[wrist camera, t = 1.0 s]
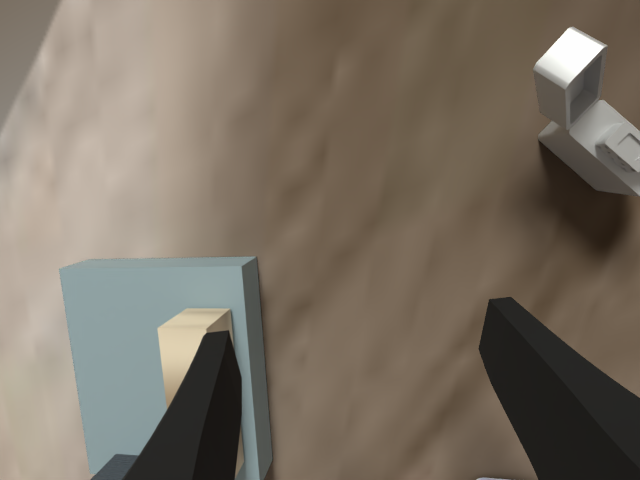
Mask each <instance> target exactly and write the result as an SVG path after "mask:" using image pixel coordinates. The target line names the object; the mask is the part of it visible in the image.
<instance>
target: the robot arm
mask: <svg viewBox="0 0 640 480" xmlns="http://www.w3.org/2000/svg"><path fill="white" fill-rule="evenodd" d="M479 351H480V354H481V357H482V360H483V363H484V366H485V369H486V371H487V374H488V377H489V379H490V382H491V384H492V386H493V388H494V390H495V392H496V394H497V396H498V398H499V400H500V402H501V404H502V406H503V408H504V410H505V412H506V414H507V416H508V418H509V420H510V422H511V424H512V426H513V428H514V430H515V432H516V434H517V436H518V438H519V440H520V442H521V444H522V446H523V448H524V450H525V452H526V453H527V455H528V457H529V459H530V462H531V464H532V466H533V468H534V470H535V472H536V475H537V477H538V480H640V398H639V397H638V396H636V395H635V394H633V393H632V392H630V391H629V390H627V389H626V388H624V387H623V386H621V385H620V384H619V383H617V382H616V381H614V380H613V379H612V378H610V377H609V376H608V375H606V374H605V373H603V372H602V371H601V370H599V369H598V368H597V367H595V366H594V365H593V364H591V363H590V362H589V361H587V360H586V359H585V358H584V357H582V356H581V355H580V354H578V353H577V352H576V351H575V350H573V349H572V348H571V347H570V346H568V345H567V344H566V343H565V342H563V341H562V340H561V339H560V338H559V337H557V336H556V335H555V334H554V333H553V332H551V331H550V330H549V329H548V328H547V327H546V326H544V325H543V324H542V323H541V322H540V321H538V320H537V319H536V318H535V317H534V316H533V315H531V314H530V313H529V312H528V311H527V310H526V309H524V308H523V307H522V306H521V305H520V304H519V303H517V302H516V301H515V300H514V299H513V298H511V297H506V298H498V299H489V303H488V307H487V312H486V317H485V321H484V326H483V331H482V335H481V340H480V345H479ZM241 417H242V377H241V373H240V369H239V366H238V362H237V358H236V355H235V351H234V347H233V343H232V340H231V336H230V332H229V330H226V331H217V332H209V333H206V334H205V335H204V336H203V338H202V340H201V343H200V345H199V347H198V350H197V352H196V354H195V356H194V358H193V361H192V363H191V365H190V367H189V369H188V371H187V373H186V375H185V377H184V379H183V381H182V383H181V385H180V387H179V389H178V390H177V392H176V394H175V396H174V398H173V400H172V402H171V404H170V405H169V407H168V409H167V411H166V412H165V414H164V416H163V417H162V419H161V421H160V422H159V424H158V426H157V427H156V429H155V431H154V432H153V434H152V436H151V437H150V439H149V441H148V442H147V444H146V445H145V447H144V448H143V450H142V451H141V453H140V454H139V456H138V457H137V459H136V460H135V462H134V463H133V465H132V466H131V468H130V469H129V470H128V472H127V473H126V475H125V476H124V478H123V479H122V480H235V472H236V463H237V454H238V445H239V436H240V427H241ZM476 480H509V479H495V478H478V479H476Z"/></svg>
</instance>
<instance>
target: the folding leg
mask: <svg viewBox="0 0 640 480" xmlns="http://www.w3.org/2000/svg"><path fill="white" fill-rule="evenodd" d="M157 329H158V337H159V346H160V354H161V363H162V371H163V380H164V388H165V397H166V405H167V409H168V407H169V405H170V404H171V402H172V400H173V398H174V396H175V394H176V392H177V390H178V389H179V387H180V385H181V383H182V381H183V379H184V377H185V375H186V373H187V371H188V369H189V367H190V365H191V363H192V361H193V358H194V356H195V354H196V352H197V350H198V347H199V345H200V343H201V340H202V338H203V336H204V335H205V334H206V333H209V332H217V331H226V330H229V332H230V336H231V340H232V343H233V333H232V322H231V311H230V309H223V308H187V309H185V310H184V311H182V312H181V313H179V314H178V315H176V316H175V317H173V318H172V319H170V320H169V321H167V322H166V323H164V324H163V325H161V326H160V327H158V328H157ZM233 347H234V344H233ZM243 463H244V455H243V444H242V433H241V427H240V436H239V445H238V454H237V463H236V472H235V478H236V476H237V474H238V472H239V470H240V468H241V466H242V465H243Z"/></svg>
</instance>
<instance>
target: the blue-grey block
mask: <svg viewBox="0 0 640 480" xmlns="http://www.w3.org/2000/svg"><path fill="white" fill-rule="evenodd" d="M59 272H60V279H61V285H62V292H63V299H64V305H65V312H66V318H67V325H68V331H69V338H70V345H71V351H72V358H73V364H74V371H75V377H76V384H77V391H78V397H79V404H80V410H81V417H82V423H83V430H84V437H85V443H86V450H87V456H88V463H89V469H90V474H96V475H95V476H94V477H93V478H92V479H91V480H122V479H123V478H124V476H125V475H126V473H127V472H128V470H129V469H130V468H131V466H132V465H133V463H134V462H135V460H136V459H137V457H138V456H139V454H140V453H141V451H142V450H143V448H144V447H145V445H146V444H147V442H148V441H149V439H150V437H151V436H152V434H153V432H154V431H155V429H156V427H157V426H158V424H159V422H160V421H161V419H162V417H163V416H164V414H165V412H166V411H167V405H166V397H165V388H164V380H163V371H162V363H161V354H160V346H159V337H158V329H157V328H158V327H160V326H161V325H163V324H164V323H166V322H167V321H169V320H170V319H172V318H173V317H175V316H176V315H178V314H179V313H181V312H182V311H184V310H185V309H187V308H223V309H230V311H231V322H232V333H233V344H234V351H235V355H236V358H237V362H238V366H239V369H240V373H241V377H242V417H241V433H242V444H243V455H244V463H243V465H242V466H241V468H240V470H239V472H238V474H237V476H236V478H235V480H264V478H265V476H266V474H267V471H268V469H269V467H270V465H271V462H272V460H273V458H272V445H271V433H270V420H269V407H268V395H267V382H266V369H265V357H264V344H263V331H262V319H261V306H260V293H259V281H258V268H257V257H205V258H148V259H91V260H86V261H82V262H79V263H76V264H73V265H69V266H66V267H63V268H60V269H59Z"/></svg>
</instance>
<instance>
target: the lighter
mask: <svg viewBox="0 0 640 480" xmlns="http://www.w3.org/2000/svg"><path fill="white" fill-rule="evenodd" d="M607 47H608V46H607V45H605V44H603V43H602V42H600V41H598V40H596V39H594V38H592V37H591V36H589V35H587V34H585V33H583V32H582V31H580V30H578V29H576V28H574V27H571V28H568V29H567V31H566V32H565V33H564V34H563V35H562V36H561V37H560V38H559V39H558V40H557V41H556V42H555V44H554V45H553V46H552V47H551V48H550V49H549V50H548V51H547V52H546V53H545V54H544V55H543V56H542V58H541V59H540V60H539V61H538V62H537V63H536V65H535V67H534V69H533V72H534V78H535V85H536V91H537V97H538V103H539V110H540V113H542V114H543V115H544V116H546V117H547V118H549V119H550V120H552V121H551V122H550V123H549V124H548V125H547V126H546V127H545V128H544V129H543V130H542V132H541V133H540V134H539V135H538V140H539V141H540V142H541V143H543V144H544V145H545V146H546V147H547V148H548V149H549V150H551V151H552V152H553V153H554V154H555V155H556V156H557V157H559V158H560V159H561V160H562V161H563V162H564V163H565V164H567V165H568V166H569V167H570V168H571V169H572V170H573V171H574V172H576V173H577V174H578V175H579V176H580V177H581V178H582V179H584V180H585V181H586V182H587V183H588V184H589V185H590V186H592V187H593V188H594V189H595V190H596V191H604V192H611V193H618V194H625V195H632V196H639V197H640V131H639V130H638V129H636V128H635V127H634V126H633V125H632V124H631V123H630V122H628V121H627V120H626V119H625V118H624V117H623V116H621V115H620V114H619V113H618V112H617V111H616V110H614V109H613V108H612V107H611V106H610V105H609V104H608V103H606V102H605V101H604V100H599V101H598V99H599V98H600V96H601V92H602V84H603V77H604V69H605V62H606V54H607Z"/></svg>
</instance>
